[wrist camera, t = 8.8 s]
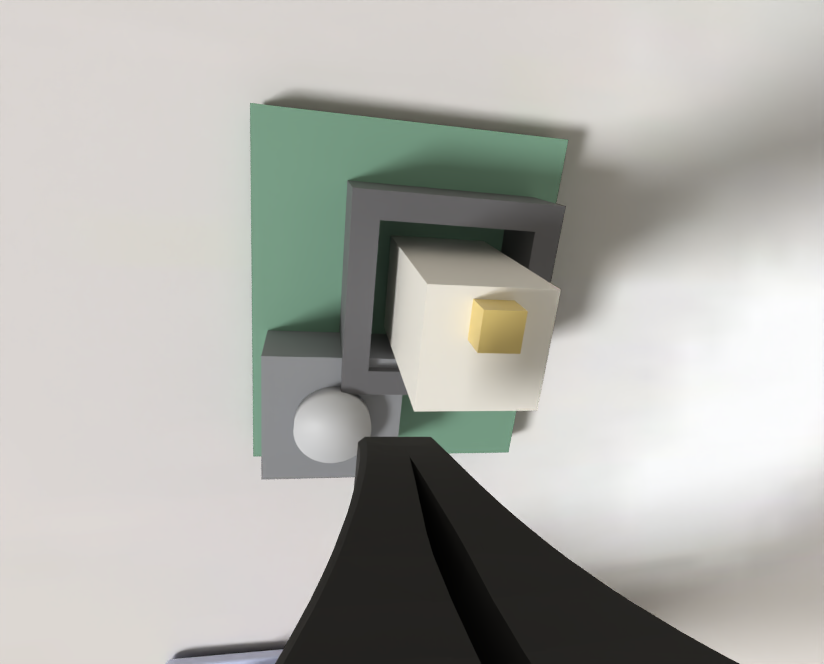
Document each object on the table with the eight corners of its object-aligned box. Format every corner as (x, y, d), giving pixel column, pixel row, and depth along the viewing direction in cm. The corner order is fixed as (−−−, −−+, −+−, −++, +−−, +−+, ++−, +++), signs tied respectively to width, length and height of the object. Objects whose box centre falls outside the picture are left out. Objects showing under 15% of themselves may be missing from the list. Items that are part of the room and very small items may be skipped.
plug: (471, 328, 18) (550, 427, 12) (384, 326, 18) (420, 428, 12) (483, 241, 17) (576, 300, 11) (390, 235, 17) (435, 294, 10)
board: (501, 441, 21) (535, 496, 18) (255, 444, 20) (243, 507, 16) (557, 139, 17) (614, 140, 14) (253, 104, 15) (236, 96, 12)
